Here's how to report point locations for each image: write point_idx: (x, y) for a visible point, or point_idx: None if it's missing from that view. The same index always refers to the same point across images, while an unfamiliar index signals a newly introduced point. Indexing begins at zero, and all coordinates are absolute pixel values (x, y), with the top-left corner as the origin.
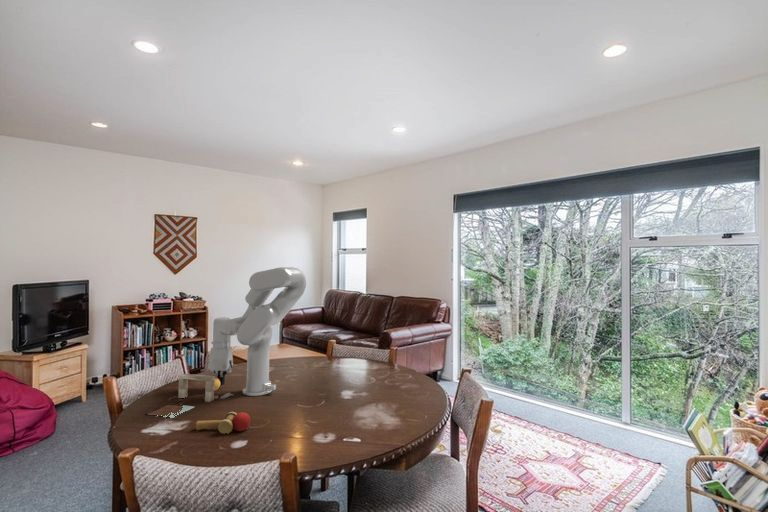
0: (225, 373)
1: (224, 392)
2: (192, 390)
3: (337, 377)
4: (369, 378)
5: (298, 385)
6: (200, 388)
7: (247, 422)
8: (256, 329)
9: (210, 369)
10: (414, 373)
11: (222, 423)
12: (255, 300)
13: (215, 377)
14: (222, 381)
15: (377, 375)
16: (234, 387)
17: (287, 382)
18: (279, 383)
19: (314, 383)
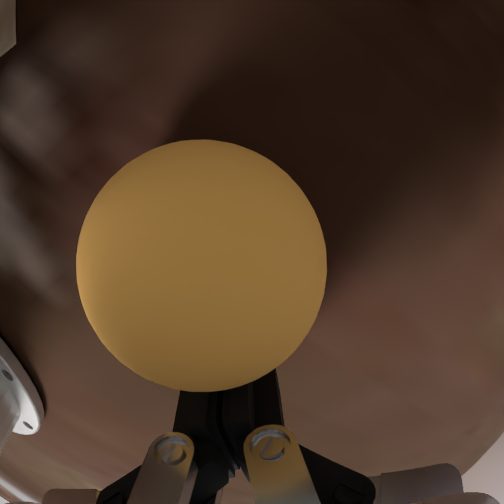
0: (106, 488)
1: (68, 260)
2: (444, 129)
3: (37, 500)
4: (2, 487)
5: (4, 453)
6: (425, 223)
7: None
8: None
9: (431, 501)
10: (5, 499)
11: None
12: None
13: (163, 371)
14: (180, 391)
15: (16, 499)
16: (144, 394)
17: (56, 478)
18: (59, 470)
19: (7, 467)
